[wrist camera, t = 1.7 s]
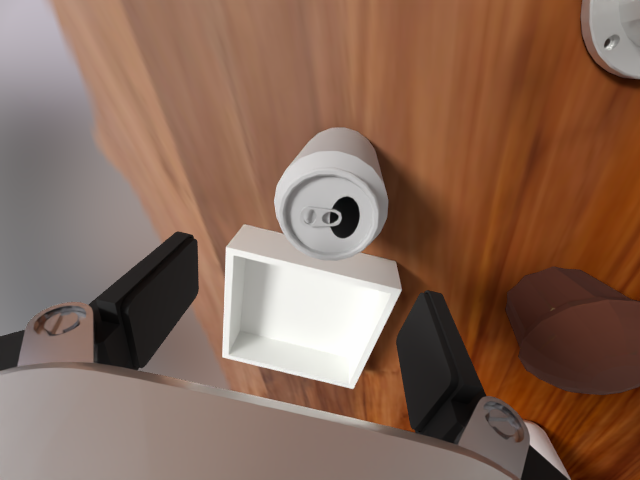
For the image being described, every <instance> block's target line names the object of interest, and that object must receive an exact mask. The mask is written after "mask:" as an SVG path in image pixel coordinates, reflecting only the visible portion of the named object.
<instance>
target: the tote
mask: <svg viewBox="0 0 640 480" xmlns="http://www.w3.org/2000/svg"><path fill="white" fill-rule="evenodd" d="M401 291H402V288H401V283H400V278H399V274H398V269H397V264H396V261H393V260H389V259H384V258H380V257H376V256H372V255H368V254H364V253H360V252H359V253H358V254H356V255H354V256H352V257H350V258H346V259H342V260H338V261H331V260H320V259H316V258H313V257H309V256H307V255H306V254H304V253H302V252H301V251H299V250H297V249H296V248H295V247H294V246H293V245H292V244H291V243H290V242H289V241H288V240H287V239H286V237H285V235H284V234H282V233H278V232H274V231H270V230H266V229H262V228H258V227H254V226H250V225H246V224H244V225H243V226H242V228H241V229H240V230H239V231H238V233H237V234H236V235H235V236H234V238H233V239H232V240H231V241H230V243H229V244H228V245H227V246H226V265H225V295H224V325H223V355H222V357H224V358H228V359H232V360H236V361H240V362H244V363H248V364H252V365H257V366H261V367H265V368H269V369H273V370H277V371H281V372H286V373H290V374H294V375H298V376H302V377H306V378H310V379H314V380H319V381H323V382H327V383H331V384H335V385H339V386H343V387H348V388H352V389H353V388H354V386H355V384H356V382H357V380H358V378H359V376H360V374H361V372H362V370H363V368H364V366H365V364H366V362H367V360H368V358H369V356H370V354H371V352H372V350H373V348H374V346H375V344H376V342H377V340H378V338H379V336H380V334H381V332H382V329H383V327H384V325H385V323H386V321H387V319H388V317H389V315H390V313H391V311H392V309H393V307H394V305H395V303H396V301H397V299H398V297H399V295H400V293H401Z"/></svg>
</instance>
